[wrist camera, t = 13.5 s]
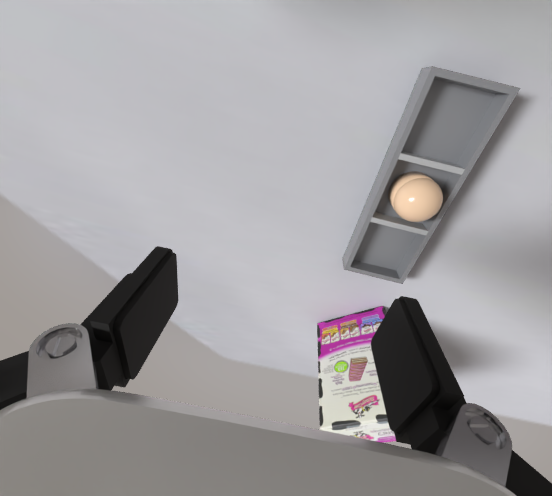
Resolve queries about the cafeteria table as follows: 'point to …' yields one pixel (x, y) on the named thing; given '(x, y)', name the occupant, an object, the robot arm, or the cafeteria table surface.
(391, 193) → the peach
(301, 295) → the cafeteria table surface
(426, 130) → the tray
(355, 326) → the candy bar box
